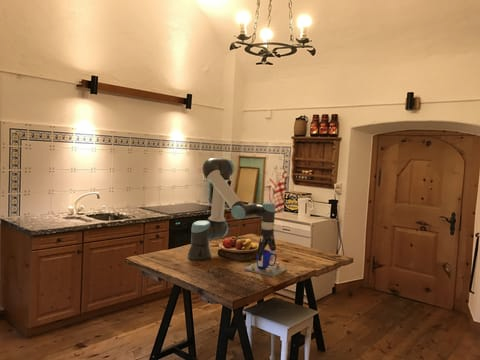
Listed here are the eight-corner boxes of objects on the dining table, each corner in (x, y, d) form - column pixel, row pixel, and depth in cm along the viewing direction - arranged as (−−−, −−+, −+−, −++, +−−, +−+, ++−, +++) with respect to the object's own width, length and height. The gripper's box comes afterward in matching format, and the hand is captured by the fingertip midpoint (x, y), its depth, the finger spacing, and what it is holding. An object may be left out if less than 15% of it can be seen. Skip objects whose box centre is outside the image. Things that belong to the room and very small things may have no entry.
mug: (274, 271, 236) (275, 254, 236) (254, 268, 239) (255, 252, 238) (276, 267, 244) (277, 251, 243) (257, 264, 247) (258, 249, 246)
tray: (244, 270, 240) (244, 263, 239) (257, 263, 253) (257, 257, 253) (274, 277, 229) (274, 270, 229) (286, 270, 243) (286, 263, 242)
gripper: (263, 232, 227) (260, 269, 228) (282, 226, 248) (280, 260, 249) (251, 230, 230) (249, 266, 232) (271, 224, 252) (269, 257, 253)
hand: (265, 263), depth 241 cm, fingers open, 13 cm apart
